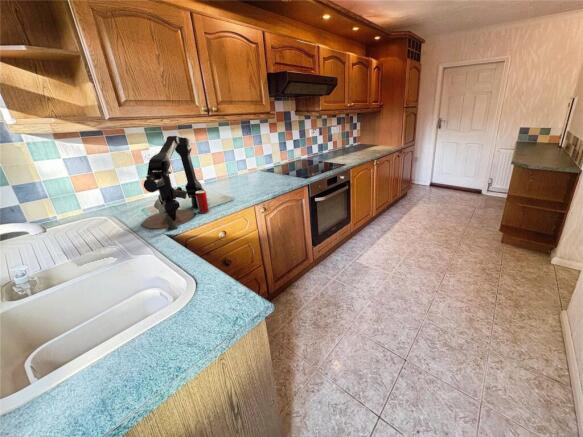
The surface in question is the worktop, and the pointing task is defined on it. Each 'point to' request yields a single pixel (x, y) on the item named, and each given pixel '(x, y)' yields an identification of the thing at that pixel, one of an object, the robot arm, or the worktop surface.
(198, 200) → the soda can
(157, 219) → the turntable
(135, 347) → the worktop surface
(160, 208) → the decorative toy
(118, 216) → the worktop surface
